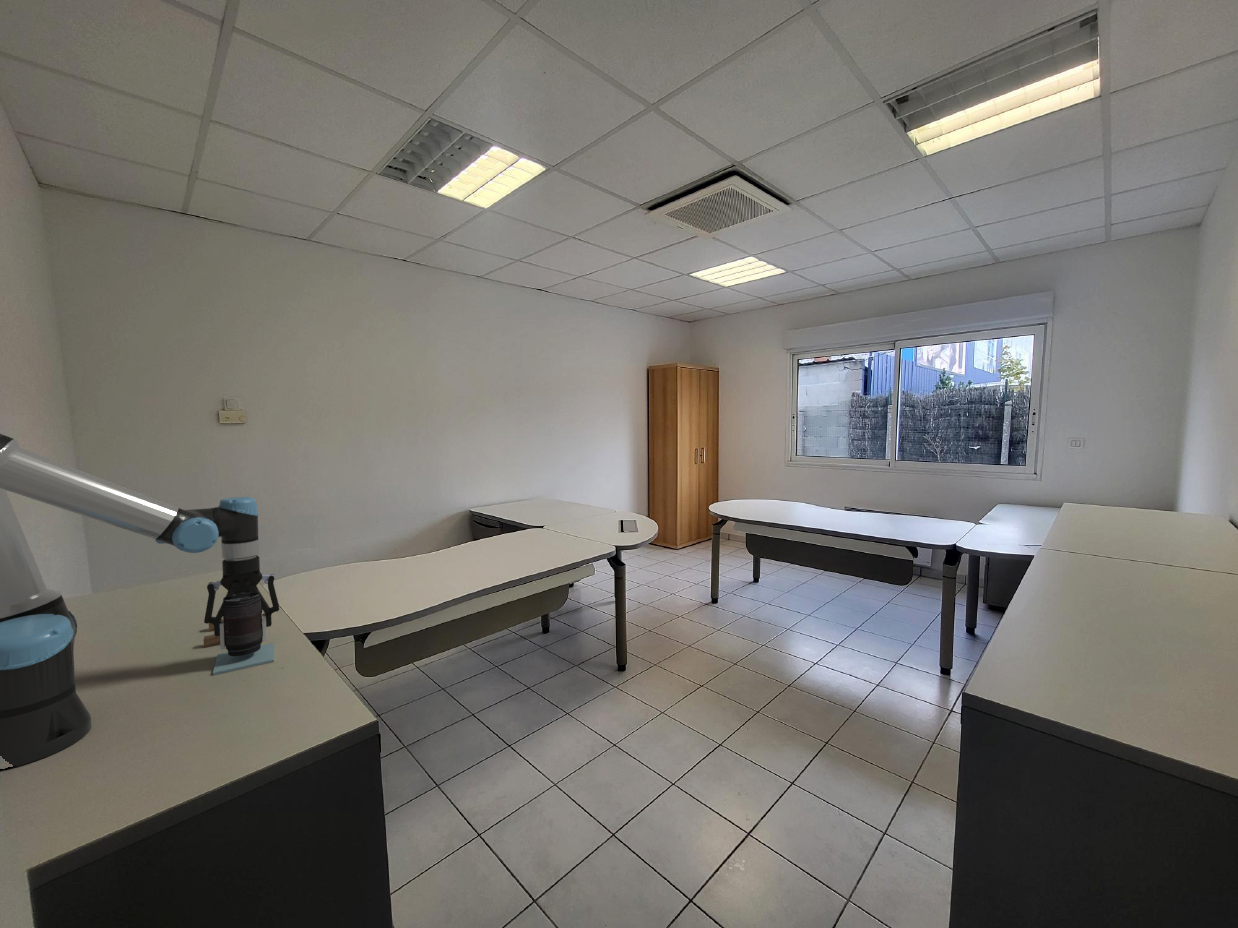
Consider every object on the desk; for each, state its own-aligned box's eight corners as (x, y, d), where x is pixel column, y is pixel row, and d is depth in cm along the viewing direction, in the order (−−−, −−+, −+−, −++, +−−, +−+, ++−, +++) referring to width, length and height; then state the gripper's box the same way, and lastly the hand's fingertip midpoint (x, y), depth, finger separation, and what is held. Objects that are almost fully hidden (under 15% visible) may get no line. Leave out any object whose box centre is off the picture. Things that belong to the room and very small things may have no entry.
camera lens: (217, 653, 122) (215, 596, 121) (254, 641, 129) (252, 588, 128) (233, 661, 118) (231, 602, 117) (270, 648, 125) (268, 593, 124)
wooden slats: (254, 637, 136) (253, 626, 136) (203, 647, 130) (203, 635, 130) (255, 620, 148) (255, 610, 148) (209, 629, 142) (209, 617, 142)
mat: (273, 661, 122) (273, 659, 122) (212, 675, 115) (212, 672, 115) (273, 644, 132) (273, 642, 132) (217, 656, 125) (217, 654, 125)
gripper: (289, 548, 131) (292, 628, 132) (189, 559, 119) (193, 647, 120) (290, 554, 125) (293, 638, 126) (184, 566, 113) (189, 659, 114)
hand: (244, 642), depth 123 cm, fingers closed on camera lens, 8 cm apart
